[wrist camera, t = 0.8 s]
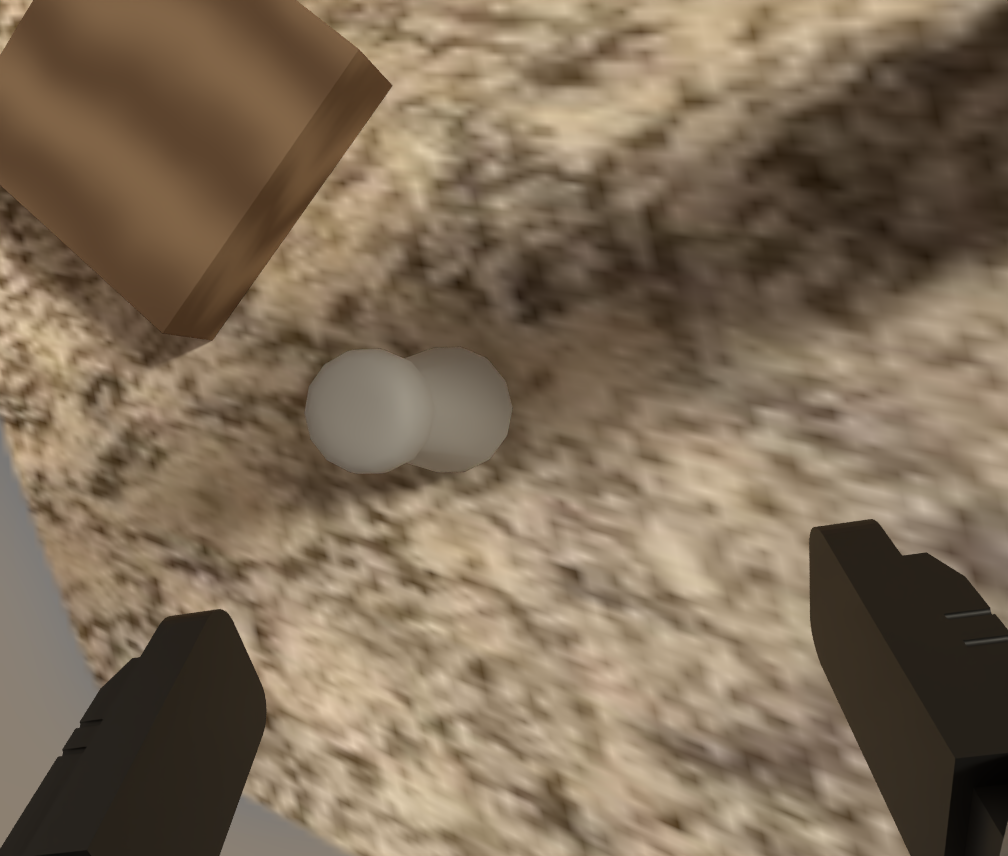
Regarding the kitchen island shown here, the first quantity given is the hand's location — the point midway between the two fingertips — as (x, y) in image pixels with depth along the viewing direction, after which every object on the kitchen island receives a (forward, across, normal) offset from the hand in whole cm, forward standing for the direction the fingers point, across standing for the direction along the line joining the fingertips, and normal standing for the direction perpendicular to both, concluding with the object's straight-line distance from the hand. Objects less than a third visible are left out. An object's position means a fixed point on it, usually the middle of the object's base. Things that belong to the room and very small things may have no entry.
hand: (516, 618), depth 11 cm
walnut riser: (+35, +16, -6) cm, 39 cm away
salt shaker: (+26, +4, +9) cm, 28 cm away
